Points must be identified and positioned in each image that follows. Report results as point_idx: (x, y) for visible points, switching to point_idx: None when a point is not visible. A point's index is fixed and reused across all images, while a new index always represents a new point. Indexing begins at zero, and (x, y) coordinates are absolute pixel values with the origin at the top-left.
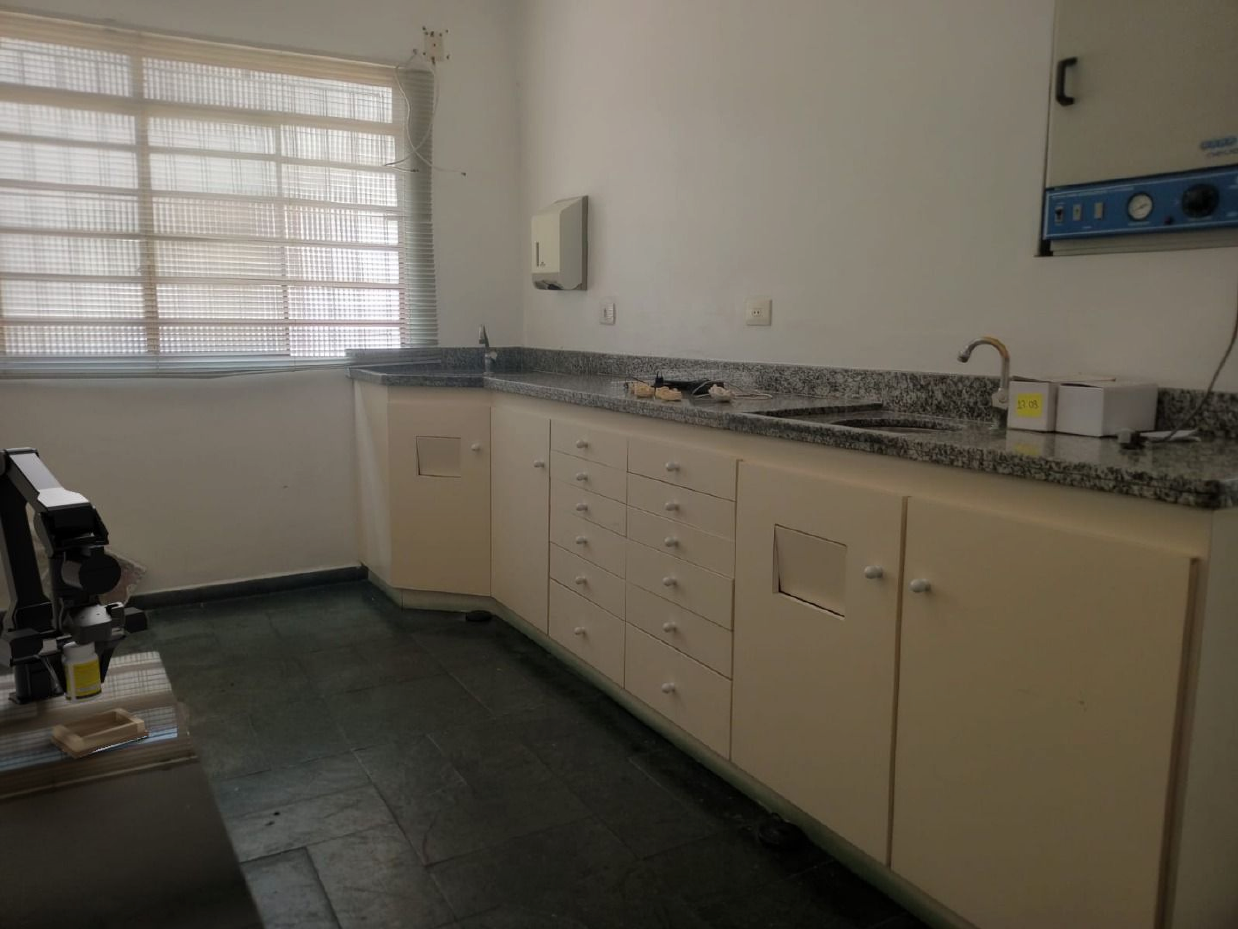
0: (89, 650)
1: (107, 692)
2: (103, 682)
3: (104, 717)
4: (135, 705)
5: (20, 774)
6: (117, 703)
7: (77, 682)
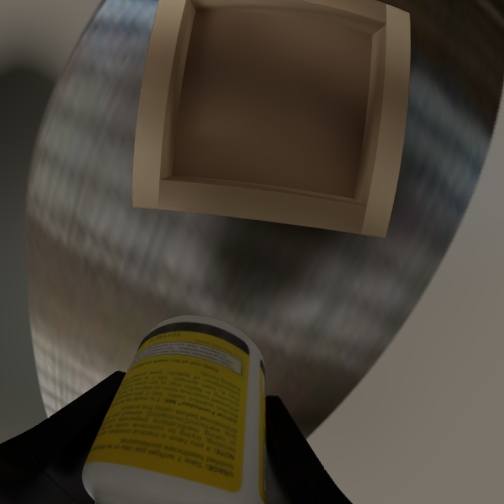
0: None
1: None
2: (117, 371)
3: (206, 182)
4: (84, 303)
5: (489, 88)
6: (114, 355)
7: (233, 398)
